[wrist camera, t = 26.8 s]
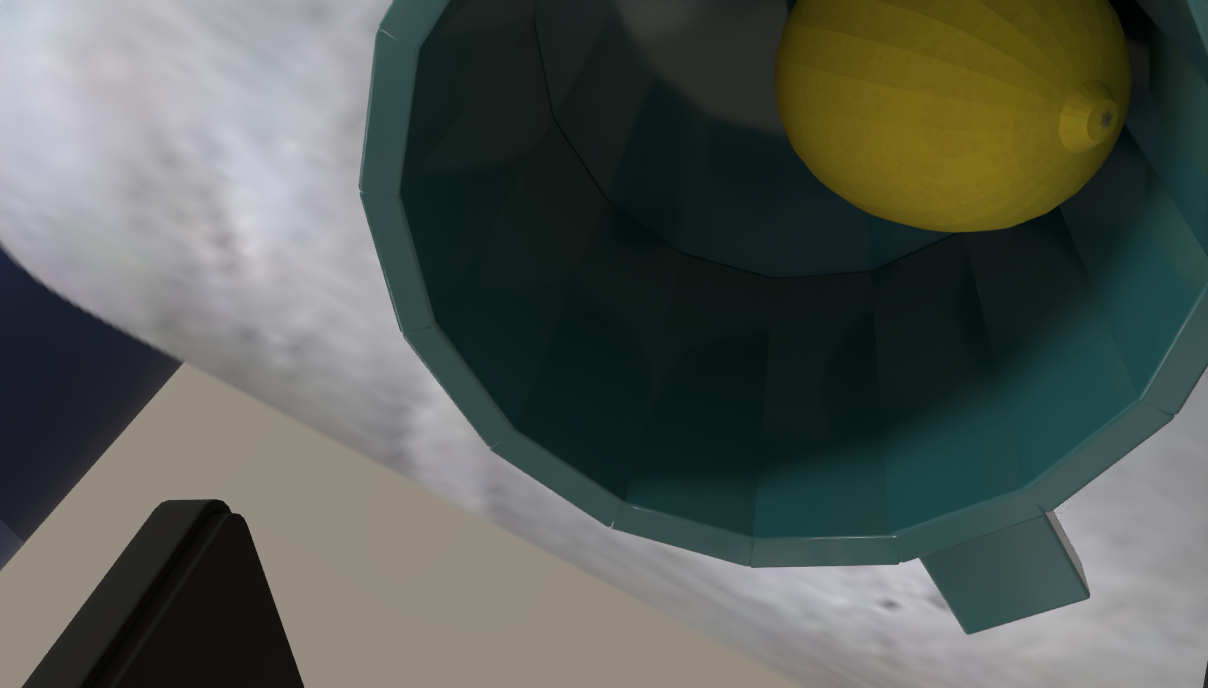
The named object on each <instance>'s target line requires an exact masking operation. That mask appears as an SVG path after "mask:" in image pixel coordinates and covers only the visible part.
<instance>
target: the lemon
mask: <svg viewBox="0 0 1208 688" xmlns="http://www.w3.org/2000/svg"><path fill="white" fill-rule="evenodd" d="M1131 84H1132V74H1131V63H1130V52H1129V46H1128V43H1127V40H1126V37H1125V34H1124V31H1123V28H1122V25H1121V22H1120V20H1119V17H1118V14H1117V13H1116V11H1115V10H1114V8H1113V7H1112V5H1111V4H1110V3H1109V1H1108V0H797V1H796V3H795V5H794V7H793V9H792V11H791V13H790V15H789V17H788V19H787V21H786V23H785V25H784V28H783V32H782V35H781V39H780V42H779V46H778V50H777V53H776V63H775V77H774V87H775V94H776V100H777V107H778V112H779V116H780V119H781V121H782V124H783V126H784V129H785V131H786V134H787V136H788V139H789V141H790V144H791V145H792V147H793V149H794V150H795V152H796V153H797V154H798V156H799V157H800V158H801V160H802V161H803V162H804V163H805V165H806V166H807V167H808V169H809V170H810V171H811V172H812V174H813V175H814V176H815V177H816V178H817V179H818V180H819V181H820V182H821V183H823V184H824V185H825V186H826V187H828V188H829V189H831V190H832V191H833V192H835V193H836V194H838V195H839V196H841V197H842V198H844V199H845V200H847V201H848V202H850V203H851V204H853V205H855V206H856V207H858V208H860V209H861V210H863V211H865V212H867V213H870V214H872V215H874V216H877V217H880V218H883V219H886V220H890V221H893V222H897V223H901V224H905V225H908V226H912V227H917V228H921V229H926V230H933V231H941V232H974V231H987V230H998V229H1004V228H1009V227H1012V226H1015V225H1017V224H1020V223H1023V222H1025V221H1028V220H1030V219H1033V218H1036V217H1038V216H1041V215H1044V214H1046V213H1048V212H1049V211H1051V210H1052V209H1054V208H1055V207H1057V206H1058V205H1059V204H1061V203H1062V202H1064V201H1065V200H1067V199H1068V198H1070V197H1071V196H1073V195H1074V194H1075V193H1077V192H1078V191H1079V190H1080V189H1081V188H1082V187H1083V186H1084V185H1085V184H1086V183H1087V182H1088V181H1089V180H1090V179H1091V177H1092V176H1093V175H1094V174H1095V173H1096V172H1097V171H1098V170H1099V169H1100V167H1101V166H1102V164H1103V163H1104V161H1105V160H1106V158H1107V157H1108V155H1109V154H1110V152H1111V151H1112V149H1113V148H1114V145H1115V143H1116V141H1117V139H1118V137H1119V135H1120V132H1121V130H1122V128H1123V125H1124V122H1125V118H1126V115H1127V111H1128V107H1129V104H1130V94H1131Z"/></svg>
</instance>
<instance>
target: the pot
mask: <svg viewBox="0 0 1208 688" xmlns="http://www.w3.org/2000/svg"><path fill="white" fill-rule="evenodd" d="M796 1H797V0H393V2H392V3H391V5H390V7H389V8H388V10H387V12H386V14H385V15H384V17H383V19H382V20H381V22H380V24H379V30H378V31H377V32H376V38H375V46H374V55H373V64H372V73H371V81H370V90H369V99H368V108H367V116H366V125H365V134H364V143H363V151H362V160H361V169H360V177H359V189H360V197H361V200H362V204H363V207H364V210H365V214H366V217H367V221H368V224H369V227H370V231H371V234H372V237H373V241H374V244H375V247H376V251H377V254H378V258H379V261H380V264H381V268H382V271H383V274H384V278H385V281H386V285H387V288H388V291H389V295H390V298H391V301H392V305H393V308H394V311H395V315H396V318H397V322H398V325H399V328H400V331H401V332H402V333H403V336H404V338H405V340H406V341H407V342H408V344H409V345H410V346H411V348H412V349H413V350H414V351H415V353H416V354H417V355H418V357H419V358H420V359H421V360H422V362H423V363H424V364H425V366H426V367H427V368H428V370H429V371H430V372H431V373H432V375H433V376H434V377H435V379H436V380H437V381H438V383H439V384H440V385H441V386H442V388H443V389H444V390H445V392H446V393H447V394H448V395H449V397H450V398H451V399H452V401H453V402H454V403H455V405H456V406H457V407H458V408H459V410H460V411H461V412H462V414H463V415H464V416H465V418H466V419H467V420H468V421H469V423H470V424H471V425H472V427H473V428H474V429H475V430H476V432H477V433H478V434H479V436H480V437H481V438H482V440H483V441H484V442H485V443H486V445H487V446H489V447H490V450H491V451H493V452H494V453H496V454H497V455H499V456H500V457H502V458H503V459H505V460H506V461H508V462H509V463H511V464H512V465H514V466H515V467H517V468H519V469H520V470H522V471H523V472H525V473H526V474H528V475H529V476H531V477H532V478H534V479H535V480H537V481H538V482H540V483H541V484H543V485H544V486H546V487H547V488H549V489H551V490H552V491H554V492H555V493H557V494H558V495H560V496H561V497H563V498H564V499H566V500H567V501H569V502H570V503H572V504H573V505H575V506H576V507H578V508H579V509H581V510H582V511H584V512H586V513H587V514H589V515H590V516H592V517H593V518H595V519H596V520H598V521H599V522H601V523H602V524H604V525H605V526H607V527H609V526H610V527H611V528H612V529H615V530H619V531H622V532H626V533H629V534H633V535H636V536H640V537H644V538H647V539H651V540H654V541H658V542H661V543H665V544H668V545H672V546H676V547H679V548H683V549H686V550H690V551H693V552H697V553H700V554H704V555H708V556H711V557H715V558H718V559H722V560H725V561H729V562H732V563H736V564H739V565H743V566H749V565H750V567H752V568H761V567H809V566H857V565H898V564H899V563H900V562H907V561H910V560H913V559H916V558H919V559H920V560H921V562H922V564H923V565H924V567H925V569H926V570H927V572H928V573H929V575H930V577H931V578H932V580H933V582H934V583H935V585H936V586H937V588H938V590H939V591H940V593H941V595H942V596H943V598H944V599H945V601H946V603H947V604H948V606H949V608H950V609H951V611H952V612H953V614H954V616H955V617H956V619H957V621H958V622H959V624H960V626H961V627H962V629H963V630H964V632H965V633H966V634H973V633H976V632H980V631H983V630H986V629H990V628H993V627H996V626H1000V625H1003V624H1006V623H1010V622H1013V621H1016V620H1020V619H1023V618H1026V617H1030V616H1033V615H1036V614H1040V613H1043V612H1046V611H1050V610H1053V609H1056V608H1060V607H1063V606H1066V605H1070V604H1073V603H1076V602H1080V601H1083V600H1086V599H1088V598H1090V592H1089V588H1088V585H1087V581H1086V577H1085V574H1084V570H1083V567H1082V563H1081V561H1080V559H1079V557H1078V555H1077V554H1076V552H1075V550H1074V548H1073V546H1072V544H1071V543H1070V541H1069V539H1068V537H1067V535H1066V533H1065V531H1064V530H1063V528H1062V526H1061V524H1060V522H1059V520H1058V519H1057V517H1056V515H1055V513H1054V511H1053V510H1054V509H1055V508H1056V507H1058V506H1059V505H1060V504H1062V503H1063V502H1064V501H1066V500H1067V499H1068V498H1070V497H1071V496H1072V495H1074V494H1075V493H1076V492H1078V491H1079V490H1080V489H1082V488H1083V487H1084V486H1086V485H1087V484H1088V483H1090V482H1091V481H1092V480H1093V479H1095V478H1096V477H1097V476H1099V475H1100V474H1101V473H1103V472H1104V471H1105V470H1107V469H1108V468H1109V467H1111V466H1112V465H1113V464H1115V463H1116V462H1117V461H1119V460H1120V459H1121V458H1123V457H1124V456H1125V455H1126V454H1128V453H1129V452H1130V451H1132V450H1133V449H1134V448H1136V447H1137V446H1138V445H1140V444H1141V443H1142V442H1144V441H1145V440H1146V439H1148V438H1149V437H1150V436H1152V435H1153V434H1154V433H1156V432H1157V431H1158V430H1160V429H1161V428H1162V427H1163V426H1165V425H1166V424H1167V423H1169V422H1170V421H1171V420H1172V419H1173V418H1174V415H1176V414H1178V413H1179V411H1180V410H1181V408H1182V407H1183V405H1184V403H1185V402H1186V400H1187V399H1188V397H1189V395H1190V394H1191V392H1192V390H1193V389H1194V387H1195V386H1196V384H1197V382H1198V381H1199V379H1200V377H1201V376H1202V374H1203V373H1204V371H1205V369H1206V368H1207V366H1208V0H1108V1H1109V3H1110V4H1111V5H1112V7H1113V8H1114V10H1115V11H1116V13H1117V14H1118V17H1119V20H1120V22H1121V25H1122V28H1123V31H1124V34H1125V37H1126V40H1127V43H1128V46H1129V52H1130V63H1131V74H1132V84H1131V94H1130V104H1129V107H1128V111H1127V115H1126V118H1125V122H1124V125H1123V128H1122V130H1121V132H1120V135H1119V137H1118V139H1117V141H1116V143H1115V145H1114V148H1113V149H1112V151H1111V152H1110V154H1109V155H1108V157H1107V158H1106V160H1105V161H1104V163H1103V164H1102V166H1101V167H1100V169H1099V170H1098V171H1097V172H1096V173H1095V174H1094V175H1093V176H1092V177H1091V179H1090V180H1089V181H1088V182H1087V183H1086V184H1085V185H1084V186H1083V187H1082V188H1081V189H1080V190H1079V191H1078V192H1077V193H1075V194H1074V195H1073V196H1071V197H1070V198H1068V199H1067V200H1065V201H1064V202H1062V203H1061V204H1059V205H1058V206H1057V207H1055V208H1054V209H1052V210H1051V211H1049V212H1048V213H1046V214H1044V215H1041V216H1038V217H1036V218H1033V219H1030V220H1028V221H1025V222H1023V223H1020V224H1017V225H1015V226H1012V227H1009V228H1004V229H998V230H987V231H974V232H941V231H933V230H926V229H921V228H917V227H912V226H908V225H905V224H901V223H897V222H893V221H890V220H886V219H883V218H880V217H877V216H874V215H872V214H870V213H867V212H865V211H863V210H861V209H860V208H858V207H856V206H855V205H853V204H851V203H850V202H848V201H847V200H845V199H844V198H842V197H841V196H839V195H838V194H836V193H835V192H833V191H832V190H831V189H829V188H828V187H826V186H825V185H824V184H823V183H821V182H820V181H819V180H818V179H817V178H816V177H815V176H814V175H813V174H812V172H811V171H810V170H809V169H808V167H807V166H806V165H805V163H804V162H803V161H802V160H801V158H800V157H799V156H798V154H797V153H796V152H795V150H794V149H793V147H792V145H791V144H790V141H789V139H788V136H787V134H786V131H785V129H784V126H783V124H782V121H781V119H780V116H779V112H778V107H777V100H776V94H775V87H774V77H775V63H776V53H777V50H778V46H779V42H780V39H781V35H782V32H783V28H784V25H785V23H786V21H787V19H788V17H789V15H790V13H791V11H792V9H793V7H794V5H795V3H796Z"/></svg>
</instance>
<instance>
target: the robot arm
mask: <svg viewBox="0 0 1208 688" xmlns="http://www.w3.org/2000/svg"><path fill="white" fill-rule="evenodd" d="M22 688H304V685H303V682H302V680H301V677H300V674H299V671H298V668H297V665H296V662H295V659H294V657H293V654H292V651H291V648H290V645H289V642H288V640H287V637H286V634H285V631H284V628H283V625H282V622H281V620H280V617H279V614H278V611H277V608H276V605H275V602H274V600H273V597H272V594H271V591H270V588H269V585H268V582H267V580H266V577H265V574H264V571H263V569H262V565H261V563H260V560H259V557H258V554H257V551H256V548H255V546H254V543H253V540H252V537H251V534H250V531H249V528H248V526H247V523H246V522H245V519H244V518H243V517H242V516H241V515H240V514H236V513H232V512H231V511H230V509H229V507H228V506H227V505H226V504H225V503H224V502H223V501H221V500H217V499H215V500H214V499H211V500H168V501H165V502H162V503H161V504H160V505H159V506H158V507H157V508H155V510H154V511H153V512H152V514H151V515H150V516H149V518H148V519H147V521H146V522H145V523H144V524H143V526H142V527H141V529H140V530H139V531H138V532H137V534H136V535H135V537H134V538H133V539H132V540H131V542H130V543H129V544H128V546H127V547H126V548H125V550H124V551H123V552H122V554H121V555H120V557H119V558H118V559H117V561H116V562H115V563H114V565H113V566H112V567H111V569H110V570H109V571H108V573H107V574H106V575H105V577H104V578H103V579H102V581H101V582H100V583H99V585H98V586H97V587H96V589H95V590H94V591H93V593H92V594H91V595H90V597H89V598H88V600H87V601H86V602H85V603H84V605H83V606H82V607H81V609H80V610H79V611H78V613H77V614H76V615H75V617H74V618H73V619H72V621H71V622H70V623H69V625H68V626H67V627H66V629H65V630H64V632H63V633H62V634H61V635H60V637H59V638H58V640H57V641H56V642H55V644H54V645H53V646H52V647H51V649H50V650H49V651H48V653H47V654H46V655H45V657H44V658H43V660H42V661H41V662H40V664H39V665H38V666H37V668H36V669H35V670H34V672H33V673H32V674H31V676H30V677H29V678H28V680H27V681H26V682H25V684H24V685H23V686H22ZM1203 688H1208V663H1207V668H1206V674H1205V680H1204V685H1203Z"/></svg>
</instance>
